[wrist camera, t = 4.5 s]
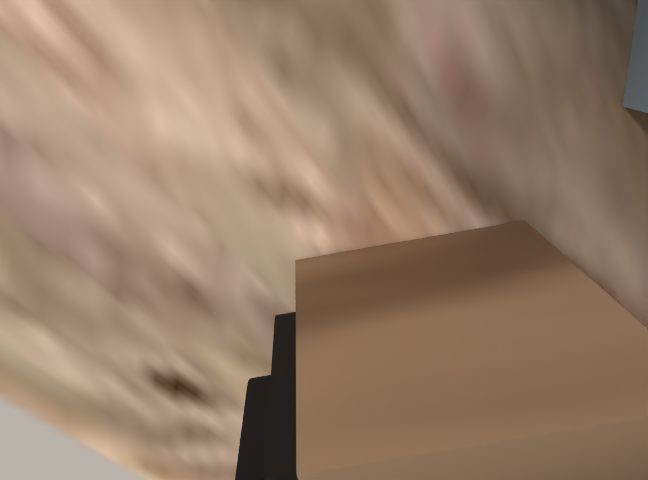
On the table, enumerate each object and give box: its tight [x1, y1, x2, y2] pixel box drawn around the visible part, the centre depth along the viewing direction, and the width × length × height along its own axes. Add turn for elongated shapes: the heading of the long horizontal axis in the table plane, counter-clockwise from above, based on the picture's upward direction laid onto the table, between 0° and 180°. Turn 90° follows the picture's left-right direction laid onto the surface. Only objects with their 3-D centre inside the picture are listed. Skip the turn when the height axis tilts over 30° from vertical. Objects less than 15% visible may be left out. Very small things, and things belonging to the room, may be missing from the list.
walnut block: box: [296, 221, 648, 480], centre depth 8 cm, size 5×5×5 cm
